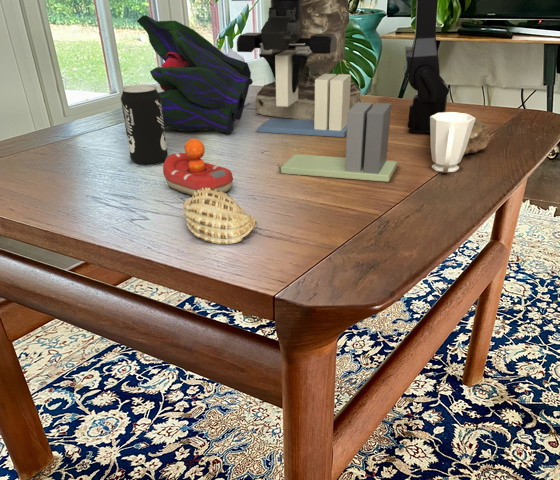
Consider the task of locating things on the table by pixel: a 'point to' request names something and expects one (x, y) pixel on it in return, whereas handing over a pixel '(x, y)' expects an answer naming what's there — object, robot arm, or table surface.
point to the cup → (449, 139)
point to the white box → (284, 79)
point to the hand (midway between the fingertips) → (287, 92)
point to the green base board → (354, 149)
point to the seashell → (217, 217)
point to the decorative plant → (196, 79)
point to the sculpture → (312, 61)
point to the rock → (477, 138)
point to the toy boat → (195, 171)
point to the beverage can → (144, 124)
